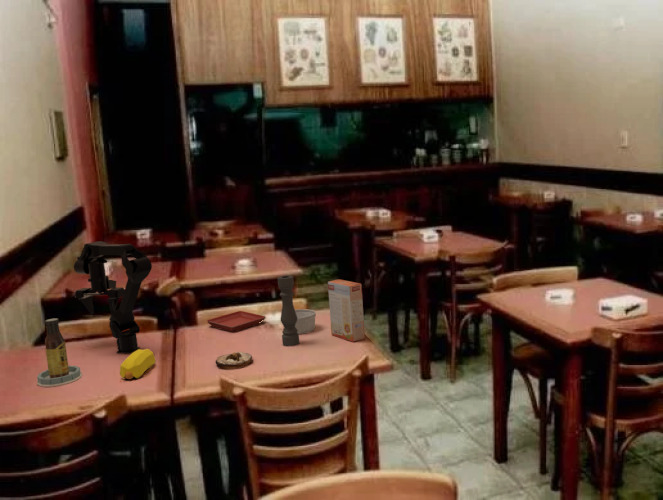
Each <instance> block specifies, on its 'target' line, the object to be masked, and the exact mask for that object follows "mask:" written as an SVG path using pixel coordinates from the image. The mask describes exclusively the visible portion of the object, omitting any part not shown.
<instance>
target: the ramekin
mask: <svg viewBox="0 0 663 500" xmlns="http://www.w3.org/2000/svg"><path fill="white" fill-rule="evenodd" d="M295 312H296V315H297V322H296V324H295V325H296V326H295V327H296V329H297V330H298V332H297V333H298V334H299V335H302V334H303V335H304V334H308V333H311V332H313V331H314V329H315V327H316V315H317V314H316V311H315V310H313V309H307V308H306V309H305V308H298V309H295Z"/></svg>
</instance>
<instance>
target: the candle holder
mask: <svg viewBox="0 0 663 500" xmlns="http://www.w3.org/2000/svg"><path fill="white" fill-rule="evenodd" d="M294 285H295V282H294V275H291V274H290V275H281V276H278V277H277V286H278V289H279V291H280V293H279V297H281V303H282V306H281V314H280V322H281V324H282V326H283V330H282V332H281V333H282V334H281V340H282V341H281V343H282V346H284V347H295V346H298V345H299V344H300V334H298V333H297V332H298V330H297V329H296V327H295V326H296V325H295V324H296V322H297V315H296V312H295V310H296V309H295V307H294V301H293V296H294V295H295V292H294V291H293V289H294Z"/></svg>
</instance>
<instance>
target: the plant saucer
mask: <svg viewBox="0 0 663 500" xmlns="http://www.w3.org/2000/svg"><path fill="white" fill-rule="evenodd" d="M266 318H267V316H265V315H261V314H258V313H252V312H247V311H243V310H237V311H234V312H231V313H227V314H224V315H220V316H217V317H213V318H210V319H207V320H206V322H207V323H208V324H209V325H210V326H211V327H213V328H216V329H220V330H224V331H227V332H231V333H235V332H238V331H240V330H241V331H242V330H244V329H248V328H251V327H255V326H257V325H260V324H259V322H261V321H262V320H263V321H264V320H265V319H266Z"/></svg>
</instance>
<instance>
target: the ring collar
mask: <svg viewBox="0 0 663 500" xmlns="http://www.w3.org/2000/svg"><path fill="white" fill-rule="evenodd" d="M68 367H69V375H66V376H63V377H57V378H50V375H49V371H48V369H45V370H43V371H41V372H39V373H38V374H37V376H36V378H37V380H36V384H37V386H39V387H42V388H51V387H52V388H53V387H60V386H64V385H69V384H72V383H74V382H76V381H78V380H80V379H81V378H82V376H83V373H82V371H81V367H80V366H77V365H68Z"/></svg>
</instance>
